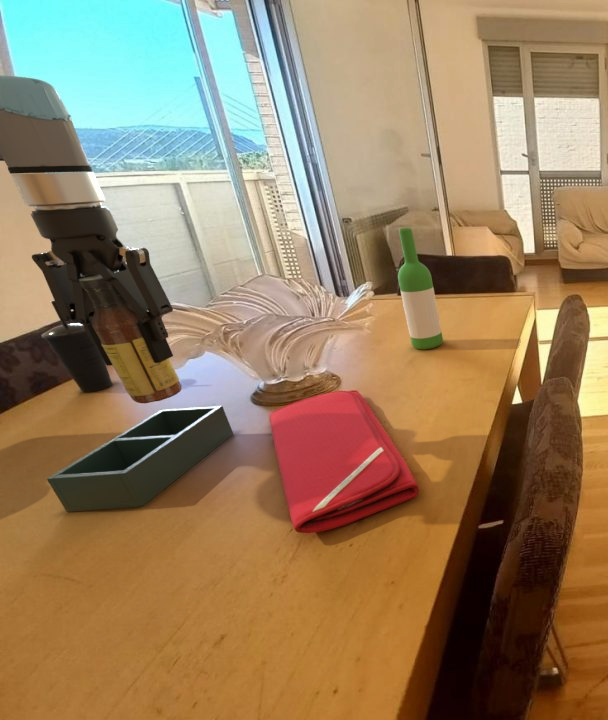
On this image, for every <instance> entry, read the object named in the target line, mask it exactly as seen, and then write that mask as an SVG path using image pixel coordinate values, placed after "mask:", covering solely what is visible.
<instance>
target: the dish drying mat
mask: <svg viewBox="0 0 608 720" xmlns="http://www.w3.org/2000/svg"><path fill="white" fill-rule="evenodd" d="M268 419H269V424H270V428H271V434H272V440H273V445H274V450H275V455H276V459H277V464H278V469H279V473H280V477H281V481H282V486H283V491H284V496H285V500H286V502H287V503H286V504H287V506H288V511H289V516H290V520H291V523H292V526H293V529H294V530H295V532H297V533H300V534H311V533H313V534H314V533H320V532H325V531H329V530H332V529H336V528H340V527H342V526H346V525H348V524H350V523H353V522H356V521H358V520H361V519H363V518H366V517H369V516H371V515H374V514H376V513H380V512H381V511H384V510H387V509H389V508H391V507H395V506H397V505H400V504H402V503H404V502H407V501H410V500H412V499H414V498H415V497H417V496H418V494H419V486H418V484H417V481H416V479H415V477H414V475H413V474H412V472H411V470H410V468H409V465H408V463H407V462H406V461H405V459H404V458H403V456H402V454H401V453H400V451H399V450H398V449H397V447H396V445H395V444H394V442H393V441H392V439H391V437H390V436H389V434H388V433H387V431H386V430H385V429H384V427H383V425H382V424H381V423H380V421H379V419H378V418H377V416H376V415H375V413H374V411H373V410H372V408H371V406H370V405H369V403H368V402H367V400H366V399H365V398H364V397H363V395H362V394H361V393H360V391H358V390H356V389H353V390H336V391H335V390H334V391H330V392H326V393H321V394H318V395H314V396H310V397H307V398H303V399H300V400H297V401H294V402H292V403H289V404H287V405H284V406H282V407H279V408H277V409H275V410H274V411H271V412H270V413H269V418H268Z"/></svg>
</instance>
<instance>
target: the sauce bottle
mask: <svg viewBox="0 0 608 720" xmlns="http://www.w3.org/2000/svg"><path fill="white" fill-rule="evenodd" d="M79 282H80V284H81V287H82V288H83V289H84V290H85V291H86V292H87V294H88V296H89V298H90V300H91V301H92V303H93V307H94V308H95V312H94V315H93V319H92V327H93V328H94V330H95V332H96V334H97V335H98V337H99V339H100V341H101V345H102V346H103V348H104V350H105V352H106V354H107V355H108V357H109V359H110V361H111V363H112V365H111V366H113V369H115V372H116V374H117V376H118V377H119V380H120V381H121V384H122V385H123V387H124V388H125V391H126V393H127V394H128V396H130V398H131V400H132V401H133V402H135V403H138V404H149V403H154V402H160V401H161V402H162V401H164V400H167V399H169V398H171V397H174V396H176V395H177V394H179V393H181V390H182V388H183V387H182V384H181V382H180V377H179V376H178V374H177V372H176V370H175V367H174V366H173V364H172V362H171V360H170V358H168V359H166V360H164V361H162V362H160V363H154V360H153V358H152V356H151V354H150V352H149V349H148V347H147V345H146V343H145V341H144V338H143V336H142V334H141V332H140V330H139V327H138V325H137V323H138V320H141V318H140V317H139V316H138V315H137V314H136V312H135V311H134V310H133V309H132V308H131V306H130V305H129V304H128V303H127V302H126V300H125V299H124V298H123V297H122V296H121V294H120V293H119V292H118V291H117V289H116V288H115V287H114V286H113V285H112V283H111V282H109V281H106V280H105V279H104V278H103V277H102V276H101V275H93V276H89V277H85V278H81V279H79Z"/></svg>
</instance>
